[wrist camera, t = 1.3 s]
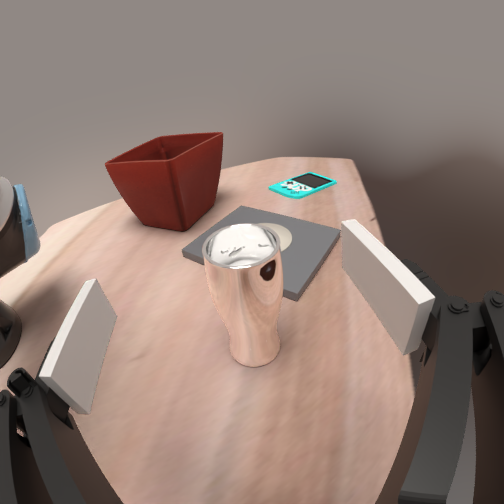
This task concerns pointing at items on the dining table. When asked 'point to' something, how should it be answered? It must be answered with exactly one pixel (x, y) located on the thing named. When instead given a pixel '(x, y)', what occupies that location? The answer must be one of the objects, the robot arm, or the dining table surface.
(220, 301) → the beer glass
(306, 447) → the dining table surface
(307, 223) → the serving board
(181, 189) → the plant pot
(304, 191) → the handheld game console
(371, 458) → the dining table surface
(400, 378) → the dining table surface
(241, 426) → the dining table surface
